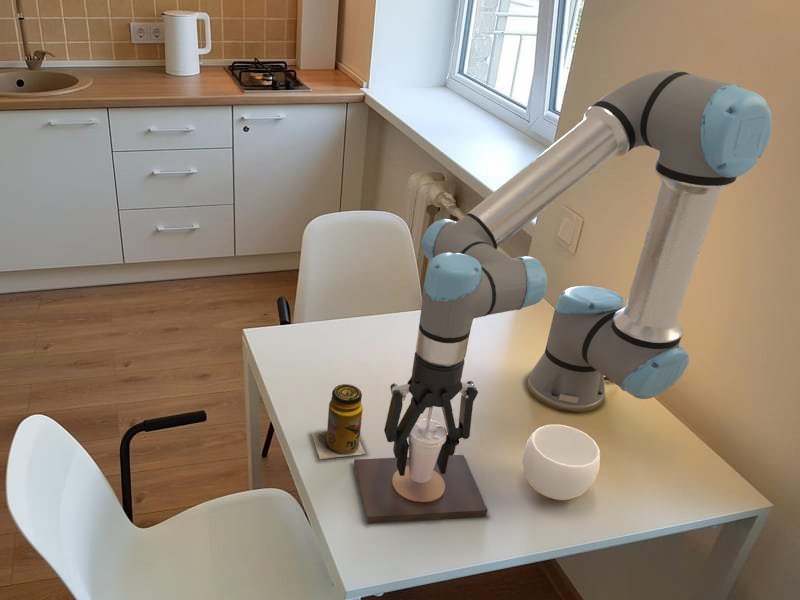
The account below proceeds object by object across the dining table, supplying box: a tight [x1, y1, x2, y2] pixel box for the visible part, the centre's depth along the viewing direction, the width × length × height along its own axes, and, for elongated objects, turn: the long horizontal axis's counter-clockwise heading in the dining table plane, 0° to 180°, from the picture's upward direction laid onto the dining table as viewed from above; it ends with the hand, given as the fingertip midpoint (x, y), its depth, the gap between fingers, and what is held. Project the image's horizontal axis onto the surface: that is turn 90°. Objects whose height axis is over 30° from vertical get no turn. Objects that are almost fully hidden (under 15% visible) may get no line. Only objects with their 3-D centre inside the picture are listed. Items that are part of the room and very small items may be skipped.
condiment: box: [311, 383, 366, 460], centre depth 130 cm, size 7×8×12 cm
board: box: [353, 454, 488, 524], centre depth 124 cm, size 20×14×2 cm
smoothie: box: [407, 406, 448, 483], centre depth 119 cm, size 6×6×14 cm
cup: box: [522, 424, 601, 501], centre depth 124 cm, size 12×12×10 cm
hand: (420, 469), depth 122 cm, fingers closed on smoothie, 6 cm apart
